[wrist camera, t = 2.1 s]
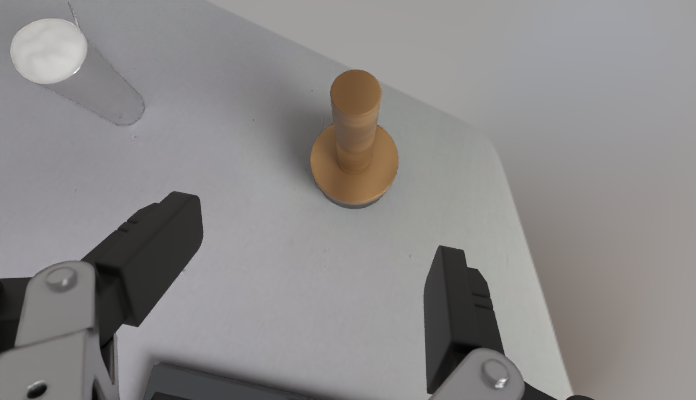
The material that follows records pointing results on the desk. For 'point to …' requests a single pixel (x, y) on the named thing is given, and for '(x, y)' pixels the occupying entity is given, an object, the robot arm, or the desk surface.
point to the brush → (354, 145)
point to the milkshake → (74, 69)
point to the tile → (209, 386)
